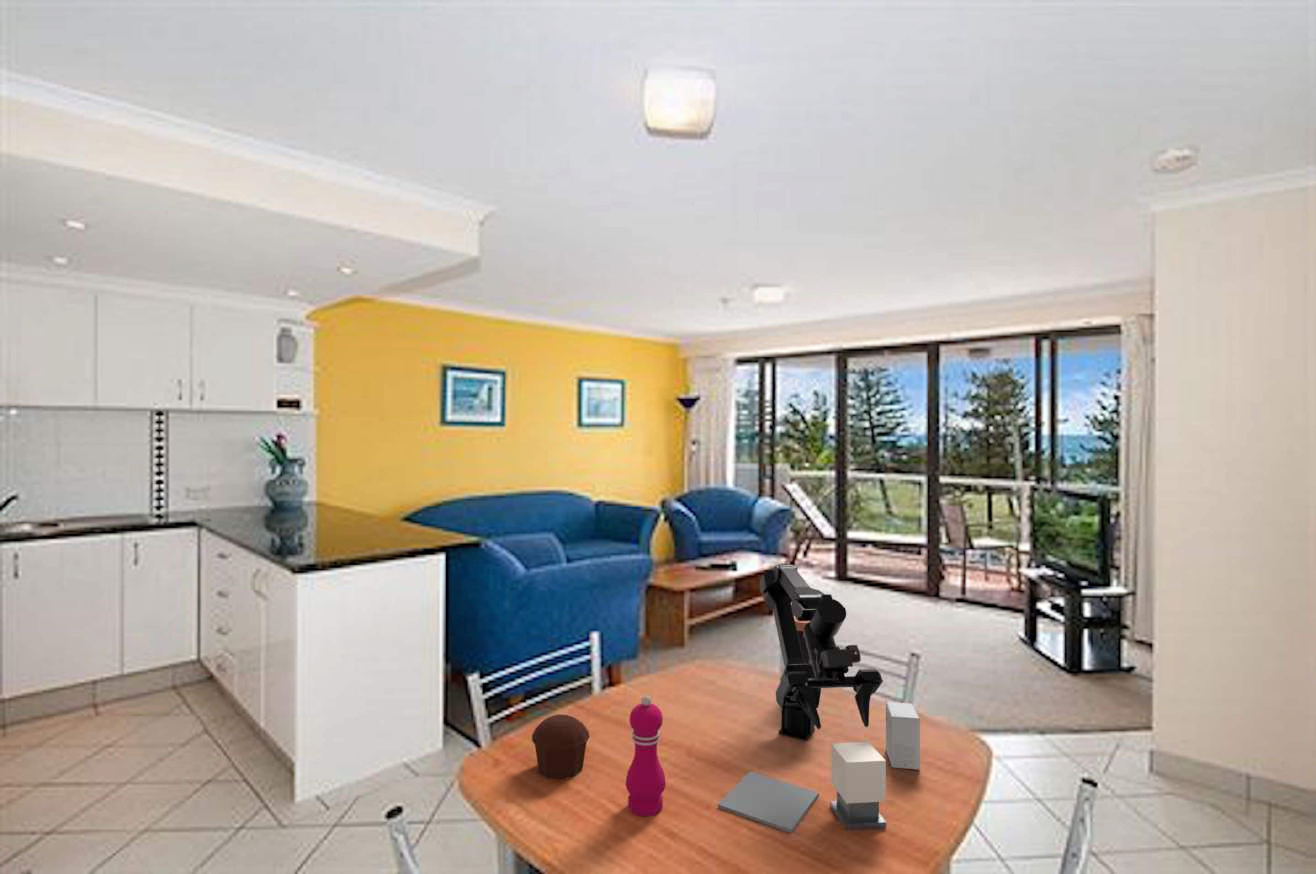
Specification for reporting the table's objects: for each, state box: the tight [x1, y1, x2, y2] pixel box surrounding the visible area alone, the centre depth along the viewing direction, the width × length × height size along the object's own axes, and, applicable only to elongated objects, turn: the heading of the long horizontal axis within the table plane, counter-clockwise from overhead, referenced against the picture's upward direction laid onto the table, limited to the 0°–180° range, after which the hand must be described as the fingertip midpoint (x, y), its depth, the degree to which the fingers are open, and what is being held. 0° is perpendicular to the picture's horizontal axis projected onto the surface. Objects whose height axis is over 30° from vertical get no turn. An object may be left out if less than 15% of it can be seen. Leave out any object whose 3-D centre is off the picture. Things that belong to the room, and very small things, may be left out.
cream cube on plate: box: [830, 741, 887, 804], centre depth 115 cm, size 7×7×7 cm
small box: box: [885, 701, 921, 771], centre depth 135 cm, size 8×6×10 cm
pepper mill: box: [625, 695, 667, 817], centre depth 117 cm, size 7×7×20 cm
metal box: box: [829, 790, 887, 831], centre depth 115 cm, size 7×7×8 cm
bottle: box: [794, 617, 810, 664], centre depth 168 cm, size 7×7×20 cm
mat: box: [717, 771, 820, 834], centre depth 119 cm, size 14×14×1 cm
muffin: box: [531, 714, 591, 781], centre depth 131 cm, size 12×11×10 cm
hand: (843, 727), depth 121 cm, fingers open, 9 cm apart
